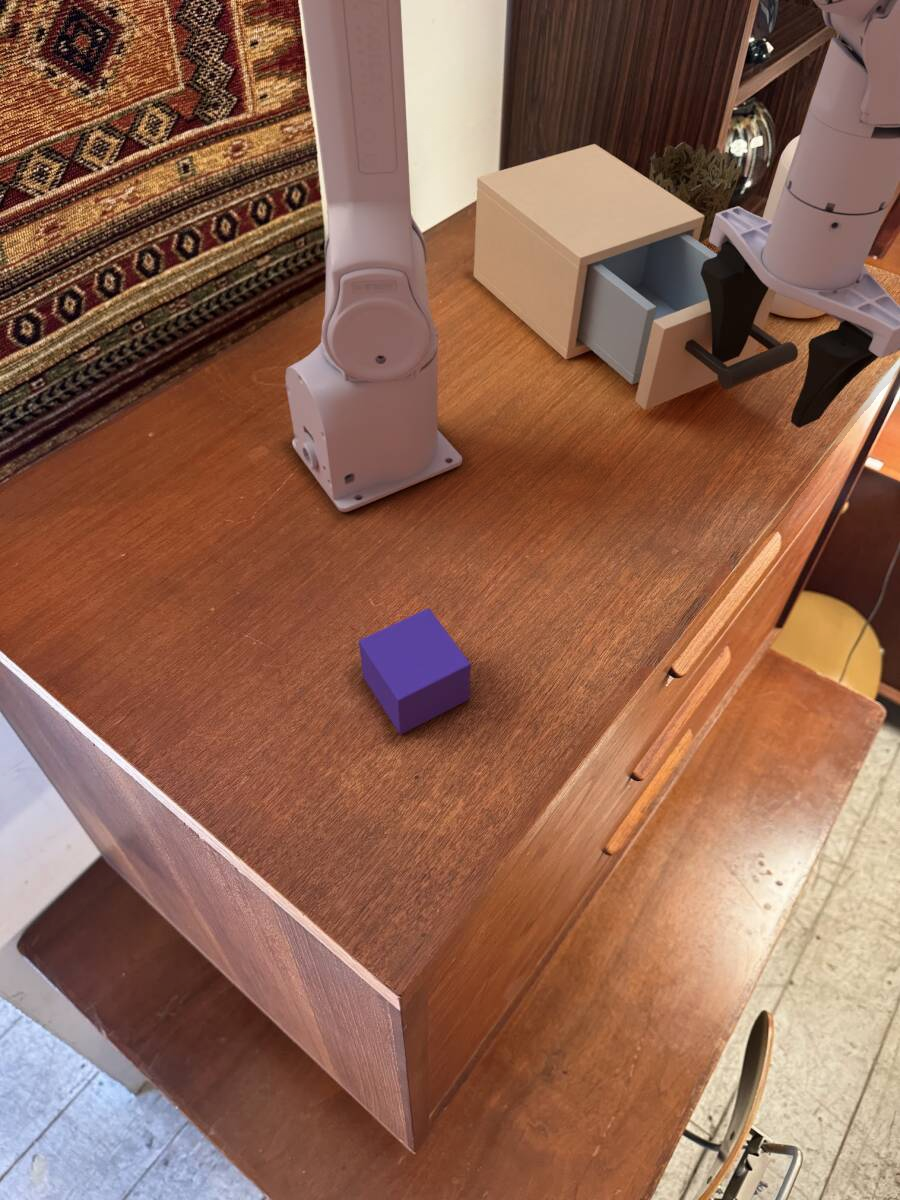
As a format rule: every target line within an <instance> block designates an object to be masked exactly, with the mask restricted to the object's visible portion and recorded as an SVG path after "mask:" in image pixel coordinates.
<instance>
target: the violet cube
mask: <svg viewBox="0 0 900 1200" xmlns="http://www.w3.org/2000/svg"><path fill="white" fill-rule="evenodd" d="M358 646H359V655H360V663H361V670H362V671H361V672H362V678H363V679H364V681H365V683H366V684H367V686H368V687H369V688H370V690H371V692H372V693H373V695H374V697H375V699H376V700H377V701H378V703H379V704H380V706H381V707H382V709H383V711H384V712H385V713H386V715H387V717H388V718H389V720H390V722H391V723H392V725H393V726H394V727H395V729H396V731H397V732H398V734H399V735H404V734H405V733H407V732H409V731H412V730H413V729H415V728H417V727H419V726H421V725H423V724H425V723H427V722H428V721H430V720H432V719H434V718H437V717H439V716H440V715H442V714H444V713H446V712H448V711H450V710H452V709H454V708H456V707H457V706H459V705H461V704H464V703H466V702H468V701H469V699H470V683H471V662H470V661H469V659H468V658H467V657H466V655H464V653H463V652H462V650H461V649H460V647H459V646H458V645H457V643H456V642H455V641H454V640H453V638H452V637H451V636H450V634H449V632H447V629H445V628H444V626H443V625H442V623H441V622H440V621H439V619H438V618H437V617H436V615H435V614H434V613H433V612H432V610H431V609H430V608H429V607H427V608H425V609H423V610H421V611H419V612H416V613H414V614H412V615H410V616H407V617H406V618H404V619H402V620H400V621H397V622H396V623H393V624H391V625H389V626H386V627H385V628H382V629H380V630H378V631H376V632H374V633H372V634H370V635H368V636H365V637H363V638H361V639H359V640H358Z"/></svg>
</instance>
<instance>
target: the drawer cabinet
mask: <svg viewBox="0 0 900 1200" xmlns="http://www.w3.org/2000/svg"><path fill="white" fill-rule="evenodd" d="M476 178H477V179H476V207H475V209H476V211H475V231H474V233H475V234H474V259H473V261H474V262H473V278H474V279H476V280H477V281H478V282H479V283H480V284H481V285H482V286H483V287H485V288H486V290H488V291H489V292H490V293H491V294H492V295H493V296H494V297H496V298H497V300H499V301H500V302H501V303H502V304H503V305H504V306H505V307H506V308H508V309H509V310H510V311H511V312H513V314H515V315H516V316H517V317H518V318H519V319H520V320H521V321H522V322H523V323H525V324H526V325H527V326H528V327H529V328H530V329H531V330H532V331H534V332H535V333H536V334H537V335H538V336H539V337H540V338H541V339H542V340H543V341H545V342H546V344H547V345H549V346H550V347H551V348H552V349H554V350H555V351H556V352H557V353H558V354H559V355H560V356H561V357H562V358H563V359H564V360H566V361H567V360H569V359H572V358H574V357H577V356H580V355H583V354H585V353H588V352H591V351H592V350H591V349H590V348H589V347H588V346H586V345H585V344H584V343H583V342H582V341H581V340H580V339H578V338H577V333H578V326H579V319H580V313H581V306H582V299H583V293H584V286H585V279H586V273H587V265H589V264H592V263H595V262H598V261H601V260H603V259H606V258H609V257H612V256H615V255H618V254H621V253H624V252H627V251H630V250H633V249H636V248H639V247H642V246H645V245H647V244H650V243H653V242H656V241H659V240H662V239H665V238H668V237H671V236H674V235H677V234H680V233H683V232H685V233H687V234H688V235H690V236H691V237H693V238H694V239H696V240H697V241H699V237H700V233H701V229H702V225H703V221H704V217H705V216H704V215H702V214H701V213H699V212H698V211H696V210H695V209H693V208H692V207H690V206H689V205H687V204H686V203H684V202H683V201H681V200H680V199H678V198H677V197H675V196H674V195H672V194H670V193H669V192H667V191H666V190H664V189H663V188H661V187H660V186H658V185H657V184H655V183H654V182H652V181H651V180H649V177H646V176H644V175H643V174H642V173H640V172H639V171H637V170H635V168H632V167H631V166H629V165H628V164H626V163H625V162H623V161H622V160H620V159H619V158H617V157H616V156H614V155H612V154H611V153H610V152H608V151H607V150H605V149H603V148H602V147H600V146H599V145H597V144H595V143H593V144H589V145H586V146H582V147H579V148H576V149H572V150H569V151H565V152H561V153H558V154H554V155H551V156H547V157H543V158H540V159H537V160H533V161H530V162H525V163H523V164H519V165H516V166H512V167H508V168H505V169H501V170H497V171H495V172H490V173H487V174H484V175H479V176H477V177H476Z"/></svg>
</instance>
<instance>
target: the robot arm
mask: <svg viewBox="0 0 900 1200" xmlns="http://www.w3.org/2000/svg"><path fill="white" fill-rule="evenodd" d="M812 1H813V2H814V3H815V5H816V6H817V7H818V8H819V9H821V14H822V17H823V21H824V23H825V26H827V28H831V29H834V30H835V31H836V33H837V34H838V35H839V37H840V38H841V39H842V40H843V41H844V42H845V43H844V42H842V41H841V40H839V38H838V37H837V36H833V37H831V39H830V43H829V46H828V48H827V51H826V52H827V53H826V55H825V57H824V62H823V64H822V67H821V70H820V73H819V77H818V79H817V83H816V86H815V89H814V92H813V94H812V98H811V101H810V103H809V107H808V110H807V112H806V115H805V119H804V122H803V125H802V128H801V132H800V134H799V135H800V138H799V141H798V144H797V147H796V150H795V153H794V156H793V159H792V162H791V166H790V169H789V172H788V175H787V178H786V181H785V184H784V187H783V190H782V193H781V196H780V200H779V203H778V206H777V209H776V212H775V215H774V218H773V221H770V220H767V219H765V218H762V217H763V216H759V215H757V214H754V213H752V212H750V211H748V210H747V209H744V208H742V207H741V206H740V205H737V206H735V207H731V208H727V210H725V211H722V212H719V213H716V215H715V218H714V222H713V226H712V230H711V233H710V237H709V238H708V242H709V243H710V244H712V245H713V246H714V247H716V248H718V249H720V251H718V252H717V253H716V254H717V256H716V257H713V258H711V259H708V260H706V261H705V262H704V263H703V265H702V269H701V273H700V274H701V276H702V279H703V281H704V284H705V287H706V290H707V294H708V298H709V303H710V310H711V319H712V355H713V356H715V357H716V358H717V359H719V360H720V361H721V362H722V363H724V362H726V361H729V360H731V359H734V358H736V357H739V356H740V354H741V352H742V350H743V348H744V346H745V344H746V342H747V339H748V336H749V334H750V331H751V328H752V325H753V322H754V319H755V317H756V314H757V311H758V309H759V307H760V305H761V303H762V301H763V298H764V297H765V295H766V293H767V291H768V289H769V288H770V289H771V290H773V291H775V292H777V293H778V294H781V295H783V296H785V297H788V298H790V299H793V300H795V301H798V302H800V303H803V304H806V305H808V306H811V307H813V308H816V309H818V310H821V311H823V312H825V314H827V315H829V316H830V317H831V318H833V319H834V320H835V321H837V322H839V325H838V328H836V329H831V330H829V331H826V332H824V333H822V334H819V335H817V336H814V337H812V338H810V339H809V342H808V359H807V368H806V372H805V377H804V380H803V385H802V387H801V390H800V393H799V395H798V398H797V400H796V402H795V404H794V406H793V410H792V413H791V419H790V424H792V425H794V426H795V427H796V428H799V429H800V428H803V427H805V426H807V425H809V424H811V423H814V422H815V421H817V420H820V419H821V417H823V414H824V413H825V411H826V410H827V409H828V407H829V406H830V405H831V403H832V402H833V401H834V400H835V399H836V398H837V396H838V395H840V393H841V392H842V391H843V390H844V389H845V388H846V387H847V386H848V384H850V382H852V380H854V378H856V377H858V375H859V374H860V373H861V372H862V371H863V370H865V369H866V368H867V367H869V366H870V365H871V364H872V363H874V361H876V360H877V359H878V358H879V359H884V358H886V357H889V356H891V355H894V354H895V353H896V354H897V353H898V352H899V351H900V304H899V303H898V302H897V300H895V299H894V298H893V296H891V294H889V292H888V291H887V290H886V289H885V288H884V287H883V286H882V284H881V283H880V282H879V281H878V280H877V279H876V278H875V277H874V276H873V274H871V272H870V271H869V270H868V269H867V268H866V267H865V264H866V261H867V259H868V257H869V254H870V251H871V249H872V247H873V244H874V242H875V239H876V238H877V235H878V233H879V230H880V228H881V225H882V224H883V221H884V219H885V216H886V214H887V211H888V209H889V207H890V204H891V202H892V200H893V197H894V195H895V193H896V191H897V188H898V186H899V184H900V0H812ZM300 2H301V10H302V19H303V27H304V34H305V42H306V50H307V51H306V52H307V59H308V66H309V73H310V81H311V89H312V96H313V98H312V99H313V106H314V113H315V120H316V129H317V137H318V145H319V153H320V160H321V168H322V176H323V184H324V191H325V199H326V201H325V202H326V210H327V227H328V231H327V232H328V233H327V235H326V236H325V237H326V238H325V242H324V262H325V263H324V264H325V292H324V293H325V294H324V317H323V319H322V322H321V337H320V343H319V344H318V346H317V347H316V348H315V349H314V350H313V351H311V352H310V353H309V354H308V355H307V356H305V357H304V358H301V360H299V361H297V362H295V363H294V364H291V365H290V366H288V367H287V368H286V370H285V390H286V394H287V401H288V407H289V412H290V418H291V419H290V420H291V425H292V429H293V431H292V432H293V435H294V436H293V437H294V438H293V439H292V445H291V446H292V448H293V449H294V450H295V452H296V453H297V455H298V456H299V457H300V459H301V460H302V462H303V463H304V464H305V466H306V467H307V468H308V469H309V471H310V472H311V474H312V476H313V477H314V478H315V480H316V481H317V482H318V484H319V485H320V486H321V487H322V489H323V490H324V492H325V493H326V495H327V496H328V497H329V498H330V500H331V501H332V503H333V504H334V505H335V507H336V509H338V511H339V512H341V513H348V512H350V511H353V510H356V509H359V508H360V507H363V506H365V505H368V504H370V503H372V502H376V501H377V500H381V499H382V498H385V497H387V496H390V495H392V494H394V493H397V492H399V491H402V490H404V489H406V488H409V487H412V486H414V485H416V484H419V483H422V482H424V481H426V480H428V479H431V478H433V477H436V476H439V475H441V474H443V473H445V472H448V471H450V470H453V469H455V468H457V467H460V466H461V465H462V464H463V457H462V455H461V454H460V452H458V450H456V448H455V447H454V446H453V445H452V444H451V443H450V442H449V440H448V439H447V438H446V437H445V436H444V435H443V434H442V433H441V432H440V430H439V410H438V409H439V406H438V405H439V404H438V403H439V334H438V331H437V328H436V326H435V323H434V317H433V315H432V313H431V306H430V297H429V289H428V278H427V268H426V265H427V260H428V256H427V245H426V239H425V237H424V234H423V232H422V231H421V228H420V227H419V226H418V224H417V222H416V220H415V219H414V217H413V215H412V205H411V204H412V203H411V189H410V188H411V187H410V186H411V185H410V183H411V182H410V163H409V143H408V125H407V124H408V123H407V105H406V103H407V101H406V83H405V80H406V79H405V64H404V62H405V61H404V45H403V44H404V41H403V40H404V39H403V22H402V21H403V20H402V19H403V18H402V3H401V2H402V0H300Z"/></svg>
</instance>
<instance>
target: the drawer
mask: <svg viewBox="0 0 900 1200" xmlns="http://www.w3.org/2000/svg"><path fill="white" fill-rule="evenodd" d="M716 256H717V253H716V252H715V251H713V250H712V249H711V248H709V247H707V246H706V245H705V244H703V243H702V242H701V243H700V242H698V241H697V240H696V239H694V238H693V237H691V236H690V235H688V234H687V233H685V232H683V233H680V234H677V235H674V236H671V237H668V238H665V239H662V240H659V241H656V242H653V243H650V244H647V245H645V246H642V247H639V248H636V249H633V250H630V251H627V252H624V253H621V254H618V255H615V256H612V257H609V258H606V259H603V260H601V261H598V262H595V263H592V264H589V265H587V273H586V279H585V286H584V293H583V299H582V306H581V313H580V319H579V326H578V333H577V338H578V339H580V340H581V341H582V342H583V343H584V344H585V345H586V346H588V347H589V348H590V349H591V350H590V351H593V353H594V354H595V355H597V356H598V357H599V358H600V359H601V360H603V361H604V362H605V363H606V364H607V365H608V366H609V367H610V368H612V370H614V371H615V372H617V374H619V375H620V376H621V377H622V378H624V379H625V380H626V382H628V384H630V385H635V384H637V383H638V385H637V391H636V395H635V398H634V401H635V403H636V404H637V405H638V406H640V407H641V408H642V409H643V410H644V411H647V410H650V409H652V408H655V407H657V406H659V405H661V404H663V403H666V402H668V401H670V400H673V399H675V398H677V397H680V396H683V395H685V394H687V393H690V392H692V391H694V390H696V389H699V388H701V387H705V386H706V385H709V384H710V383H713V382H716V381H717V382H718V384H719V386H720V387H721V388H722V389H724V390H731V389H733V388H735V387H737V386H739V385H742V384H745V383H747V382H749V381H751V380H753V379H756V378H758V377H761V376H763V375H765V374H767V373H770V372H772V371H774V370H777V369H780V368H782V367H783V366H786V365H788V364H791V363H793V362H795V361H796V360H797V359H798V356H799V351H798V347H797V345H796V344H795V343H793V342H792V341H785V342H783V343H781V342H780V341H778V340H777V339H776V338H775V337H773V336H771V334H769V333H767V332H766V331H765V330H764V329H765V327H766V323H767V321H768V318H769V315H770V313H771V312H770V309H771V306H772V304H773V301H774V298H775V295H776V292H775V291H773V290H771V289H770V288H769V289H768V291H767V293H766V295H765V297H764V298H763V301H762V303H761V305H760V307H759V309H758V311H757V314H756V317H755V319H754V322H753V325H752V328H751V331H750V334H749V336H748V339H747V342H746V344H745V346H744V348H743V350H742V352H741V354H740V356H739V357H736V358H734V359H731V360H729V361H726V362H724V363H722V362H721V361H720V360H719V359H717V358H716V357H715V356H713V355H712V319H711V310H710V303H709V298H708V294H707V290H706V287H705V284H704V281H703V279H702V276H701V274H700V273H701V269H702V265H703V263H704V262H705V261H706V260H708V259H711V258H713V257H716ZM759 344H760V345H761V346H763V347H764V348H765V349H767V350H764V351H762V352H760V353H757V350H758V347H759Z"/></svg>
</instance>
